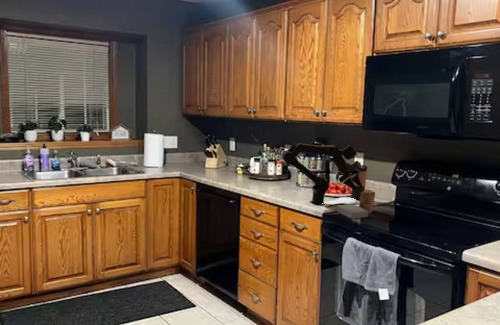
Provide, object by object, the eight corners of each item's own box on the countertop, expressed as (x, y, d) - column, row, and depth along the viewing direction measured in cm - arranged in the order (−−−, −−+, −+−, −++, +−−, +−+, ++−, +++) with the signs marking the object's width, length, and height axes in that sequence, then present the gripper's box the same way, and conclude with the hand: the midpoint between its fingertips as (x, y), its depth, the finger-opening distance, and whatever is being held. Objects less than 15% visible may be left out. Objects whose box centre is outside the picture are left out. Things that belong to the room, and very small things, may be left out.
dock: (336, 211, 236) (337, 206, 235) (352, 209, 241) (353, 204, 240) (351, 218, 225) (351, 212, 225) (367, 216, 230) (368, 211, 230)
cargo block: (362, 195, 238) (363, 190, 238) (365, 194, 242) (365, 189, 241) (370, 197, 236) (370, 191, 236) (372, 195, 239) (373, 190, 239)
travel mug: (354, 196, 269) (358, 164, 265) (365, 199, 264) (369, 166, 260) (348, 198, 264) (351, 165, 260) (359, 201, 259) (363, 168, 255)
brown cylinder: (358, 211, 240) (360, 192, 237) (362, 208, 245) (364, 190, 242) (369, 213, 236) (371, 194, 234) (372, 210, 241) (375, 192, 239)
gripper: (347, 158, 233) (365, 182, 229) (358, 154, 248) (375, 177, 245) (331, 170, 238) (348, 194, 235) (343, 165, 254) (359, 188, 250)
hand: (358, 188), depth 241 cm, fingers open, 9 cm apart
